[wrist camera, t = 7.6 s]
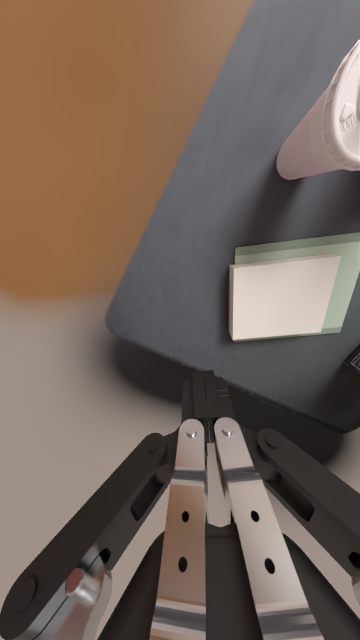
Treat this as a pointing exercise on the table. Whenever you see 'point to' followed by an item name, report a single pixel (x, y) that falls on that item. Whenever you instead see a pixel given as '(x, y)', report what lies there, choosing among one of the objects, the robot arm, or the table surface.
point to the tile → (280, 296)
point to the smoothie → (327, 128)
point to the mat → (352, 248)
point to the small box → (354, 360)
